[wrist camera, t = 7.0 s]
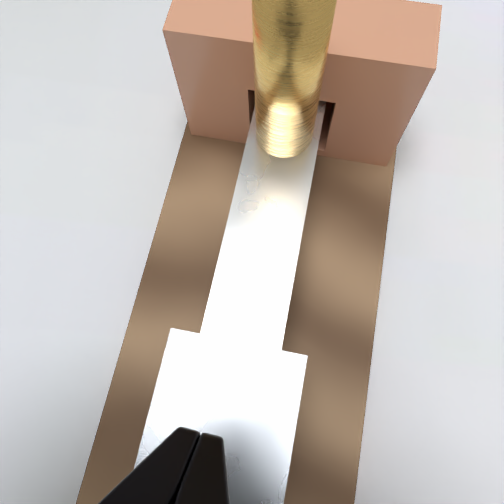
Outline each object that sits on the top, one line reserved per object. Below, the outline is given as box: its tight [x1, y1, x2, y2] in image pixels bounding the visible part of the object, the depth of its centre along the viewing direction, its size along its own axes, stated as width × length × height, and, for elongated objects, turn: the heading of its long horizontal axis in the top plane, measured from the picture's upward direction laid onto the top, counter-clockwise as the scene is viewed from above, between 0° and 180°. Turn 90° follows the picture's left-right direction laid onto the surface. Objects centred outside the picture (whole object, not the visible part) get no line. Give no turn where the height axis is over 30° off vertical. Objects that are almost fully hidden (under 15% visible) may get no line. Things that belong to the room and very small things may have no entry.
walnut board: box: [76, 122, 397, 504], centre depth 21 cm, size 28×11×1 cm, turn 168°
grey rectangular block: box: [134, 328, 308, 504], centre depth 16 cm, size 10×5×5 cm, turn 168°
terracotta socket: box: [163, 0, 442, 166], centre depth 21 cm, size 5×10×7 cm, turn 78°
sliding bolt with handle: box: [200, 0, 337, 350], centre depth 15 cm, size 14×3×11 cm, turn 168°
